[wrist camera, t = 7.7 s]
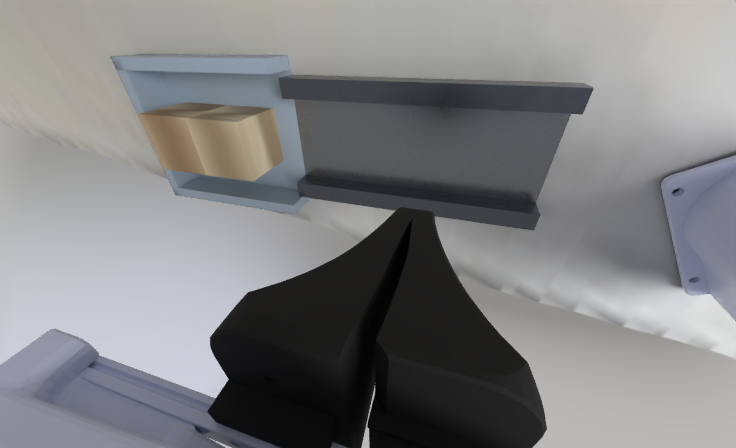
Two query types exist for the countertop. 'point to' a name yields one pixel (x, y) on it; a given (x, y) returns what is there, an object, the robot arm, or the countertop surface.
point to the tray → (226, 87)
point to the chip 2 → (236, 141)
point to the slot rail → (432, 142)
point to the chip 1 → (175, 135)
